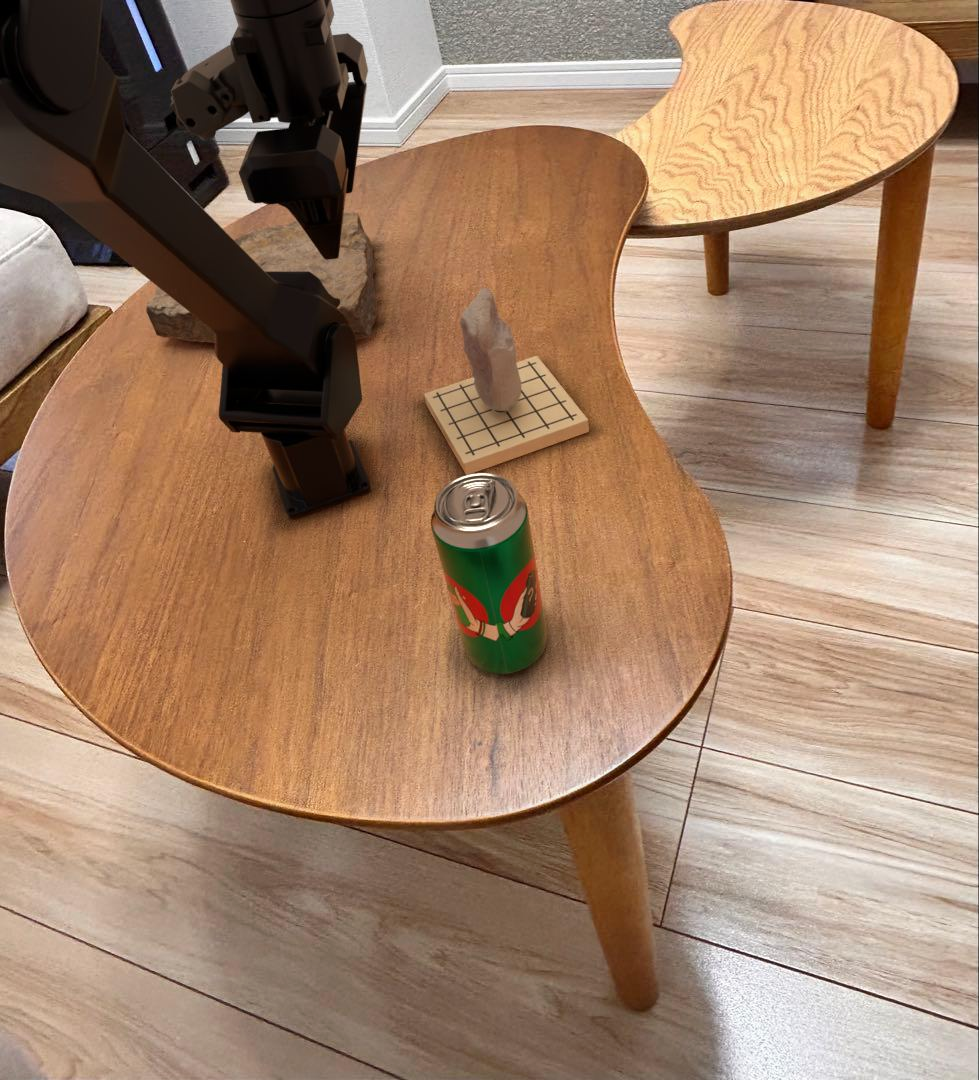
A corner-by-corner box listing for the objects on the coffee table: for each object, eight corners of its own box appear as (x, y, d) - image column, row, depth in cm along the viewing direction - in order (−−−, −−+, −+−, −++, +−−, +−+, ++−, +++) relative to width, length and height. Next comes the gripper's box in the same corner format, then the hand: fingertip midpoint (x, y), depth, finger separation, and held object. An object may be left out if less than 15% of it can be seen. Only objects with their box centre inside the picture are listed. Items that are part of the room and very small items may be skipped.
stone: (154, 355, 83) (134, 314, 79) (222, 255, 96) (207, 217, 93) (368, 344, 79) (356, 300, 75) (408, 241, 92) (399, 200, 89)
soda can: (544, 608, 54) (522, 461, 45) (551, 674, 50) (528, 528, 42) (464, 617, 54) (427, 474, 46) (465, 684, 51) (425, 541, 42)
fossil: (466, 393, 69) (443, 280, 62) (506, 379, 70) (488, 265, 63) (492, 433, 65) (471, 316, 58) (535, 418, 65) (519, 300, 58)
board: (589, 432, 65) (588, 418, 64) (466, 475, 64) (463, 463, 63) (538, 367, 72) (537, 354, 71) (426, 405, 71) (423, 392, 70)
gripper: (189, -37, 61) (259, 173, 73) (114, 80, 50) (213, 307, 62) (342, -57, 60) (388, 159, 72) (303, 57, 49) (366, 292, 61)
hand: (339, 223), depth 67 cm, fingers open, 9 cm apart
